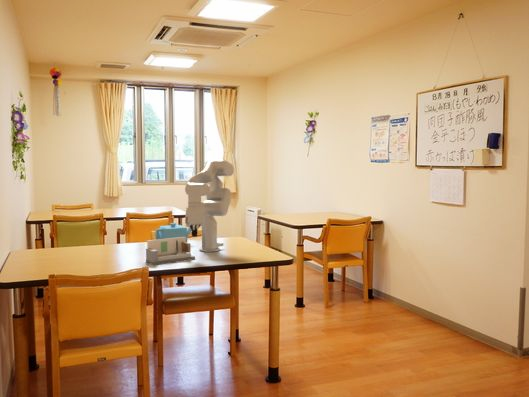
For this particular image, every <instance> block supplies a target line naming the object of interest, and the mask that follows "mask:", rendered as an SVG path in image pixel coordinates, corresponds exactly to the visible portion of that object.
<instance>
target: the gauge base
mask: <svg viewBox="0 0 529 397" xmlns="http://www.w3.org/2000/svg"><path fill="white" fill-rule="evenodd" d="M177 241H178V250H179V251H182V243H181V242H186V237H177V238H168V239H158V240H156V239H152V240H151V239H150V240H146V245H147V246H146V249H145V258H146V259H145V262H146V263H148V264H150V265H152V264H153V265H152V266H155V264H157V265H162V264H161V263H164V264H169V263H168V262H171V263H177V262H176V261H179V262H184V260H186V261H191V260H196V256H194V255H192V253H191V252H190V253H186V254H178V255H174V252H177V251H176V250H177Z"/></svg>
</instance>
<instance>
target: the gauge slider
mask: <svg viewBox="0 0 529 397" xmlns="http://www.w3.org/2000/svg"><path fill="white" fill-rule="evenodd" d="M181 243H182V251H179V250H178V241H177V250H176V251H177V252H174V255H178V254H186V253H191V251H192V250H191V249H192V248H191V242H188V241H187V242H181Z"/></svg>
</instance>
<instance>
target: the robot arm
mask: <svg viewBox="0 0 529 397" xmlns="http://www.w3.org/2000/svg"><path fill="white" fill-rule="evenodd" d="M234 171H235V169H234V166H233V164H232V163H231V162H230V161H227V160H225V159H210V160H208V161H206V162H205V165H204V166H203V168H202V170H201V171H200V172H198V173H196V174H195V175H193V176H191V177H190V178H189V179H188V180H187V182H186V185H185V188H184V189H185V190H184V191H185V194H186V195H187V198H188V199H187V207H186V210H185V217H184V218H185V219H184V222H185V227H186V228H191V229H192V231H191V236H192V237H194V238H195V237H196V238H197V237H198V232H199V229H200V228H201V247H200V248H199V251H200V252H205V253H212V252H218V251H220V247H223V246H224V245H225V244H224V242H221V243H220V242H218V222H217V220H216V218H215V217H224V216H226V215H227V214H228V212H229V207H230V204H231V200H232V191H231V190H230V188H228V187H223V186H224V183H223V181H222V180H221V179H220V177H231V176H232V175H234ZM208 183H209V185H208ZM205 196H206V200H204V201H202V197H205Z"/></svg>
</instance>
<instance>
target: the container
mask: <svg viewBox="0 0 529 397" xmlns="http://www.w3.org/2000/svg"><path fill="white" fill-rule="evenodd" d="M154 231H155V234H154V235H155V239H154V240H158V239H168V238H177V237H186V242H187V243H188V238H189V236H190V234H191V233H192V229H191V228H190V227H187V226H184V225H181V224H177V223H176V222H170V223H169V225H160V226H159V228H156V229H155V230H154Z"/></svg>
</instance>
